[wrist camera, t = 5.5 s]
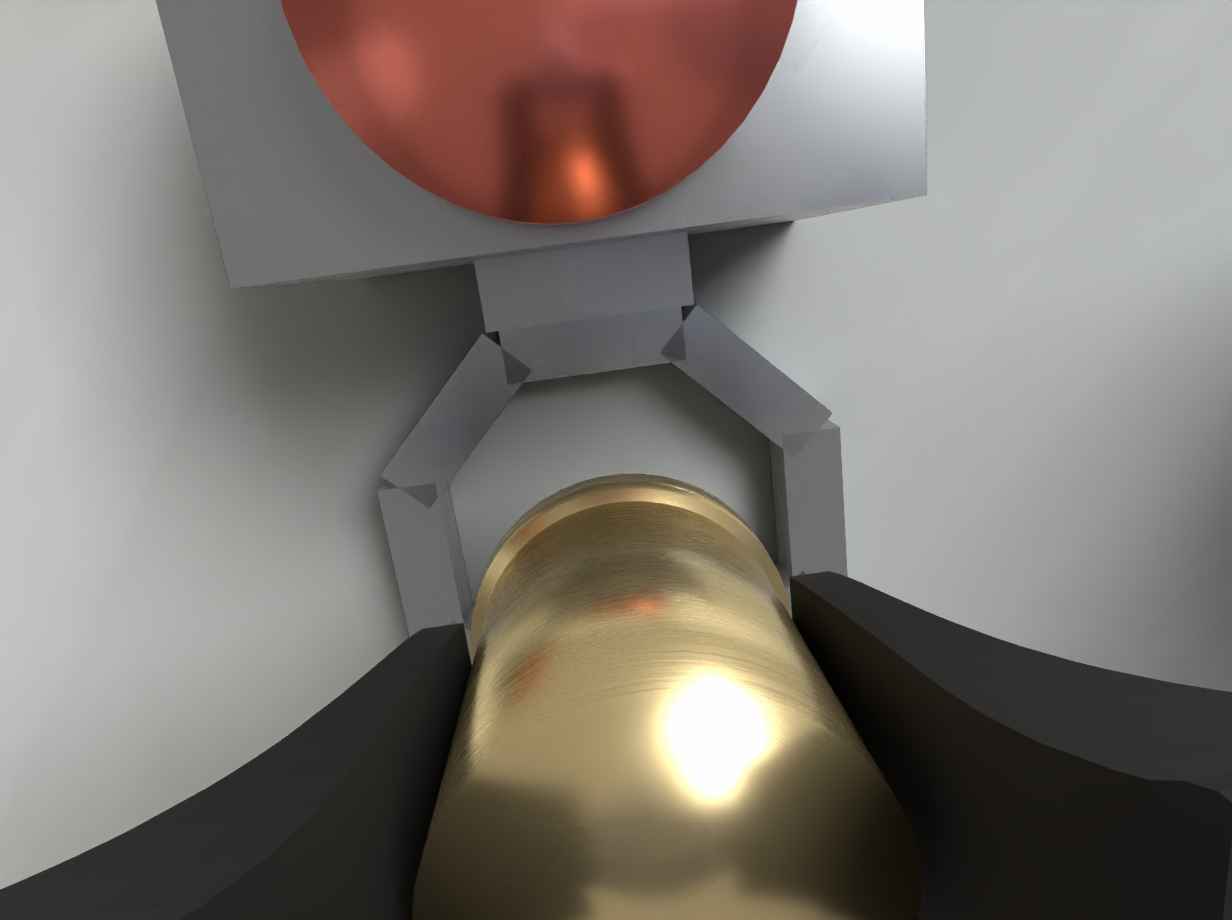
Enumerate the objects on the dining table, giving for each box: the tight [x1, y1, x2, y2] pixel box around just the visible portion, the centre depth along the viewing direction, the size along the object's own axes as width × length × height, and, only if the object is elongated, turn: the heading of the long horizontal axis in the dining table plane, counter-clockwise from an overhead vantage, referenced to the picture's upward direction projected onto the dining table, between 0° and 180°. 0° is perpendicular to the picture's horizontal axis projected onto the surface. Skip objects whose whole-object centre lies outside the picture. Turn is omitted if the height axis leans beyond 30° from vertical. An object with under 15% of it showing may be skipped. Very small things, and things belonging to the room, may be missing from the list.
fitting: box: [412, 474, 922, 920], centre depth 10 cm, size 5×5×6 cm
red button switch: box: [156, 0, 927, 664], centre depth 12 cm, size 10×20×7 cm, turn 7°
